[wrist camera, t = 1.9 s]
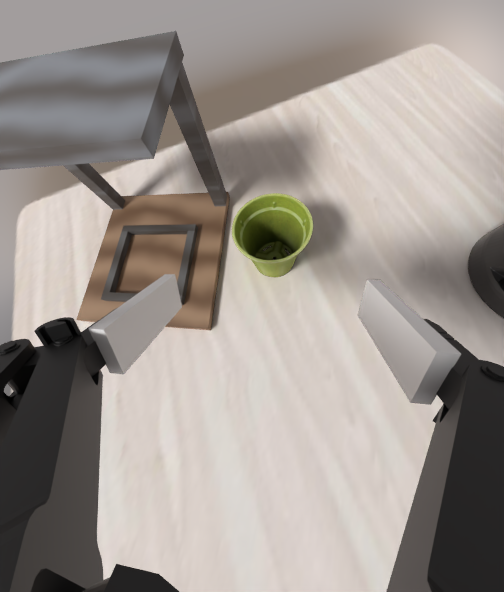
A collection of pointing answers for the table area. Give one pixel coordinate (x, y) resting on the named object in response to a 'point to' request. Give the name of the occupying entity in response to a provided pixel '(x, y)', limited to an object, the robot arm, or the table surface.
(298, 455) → the table surface
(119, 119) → the roofed stand
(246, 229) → the plant pot
